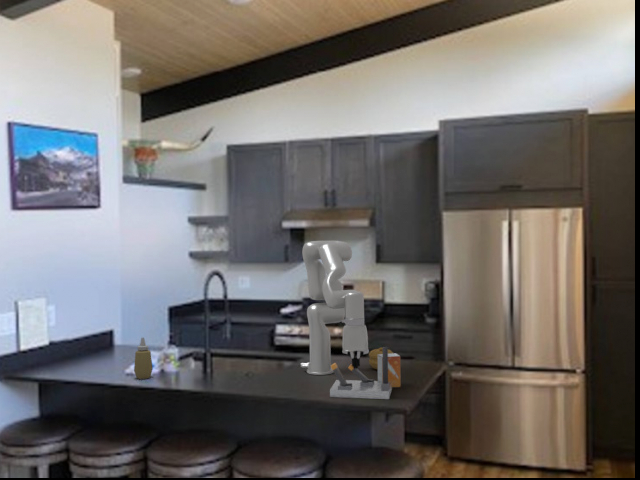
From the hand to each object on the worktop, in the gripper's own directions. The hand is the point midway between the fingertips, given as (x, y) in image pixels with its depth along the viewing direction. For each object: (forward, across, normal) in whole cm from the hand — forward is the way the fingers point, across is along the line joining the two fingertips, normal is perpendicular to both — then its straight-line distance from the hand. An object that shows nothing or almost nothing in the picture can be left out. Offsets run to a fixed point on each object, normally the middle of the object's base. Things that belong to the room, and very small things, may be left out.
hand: (356, 367), depth 265 cm
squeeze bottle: (+8, -98, +13) cm, 99 cm away
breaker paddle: (+6, +4, 0) cm, 7 cm away
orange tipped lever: (+6, -4, -6) cm, 9 cm away
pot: (+9, +7, +42) cm, 44 cm away
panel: (+10, +2, -2) cm, 10 cm away
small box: (+10, +12, +10) cm, 19 cm away
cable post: (+7, +12, -7) cm, 16 cm away
